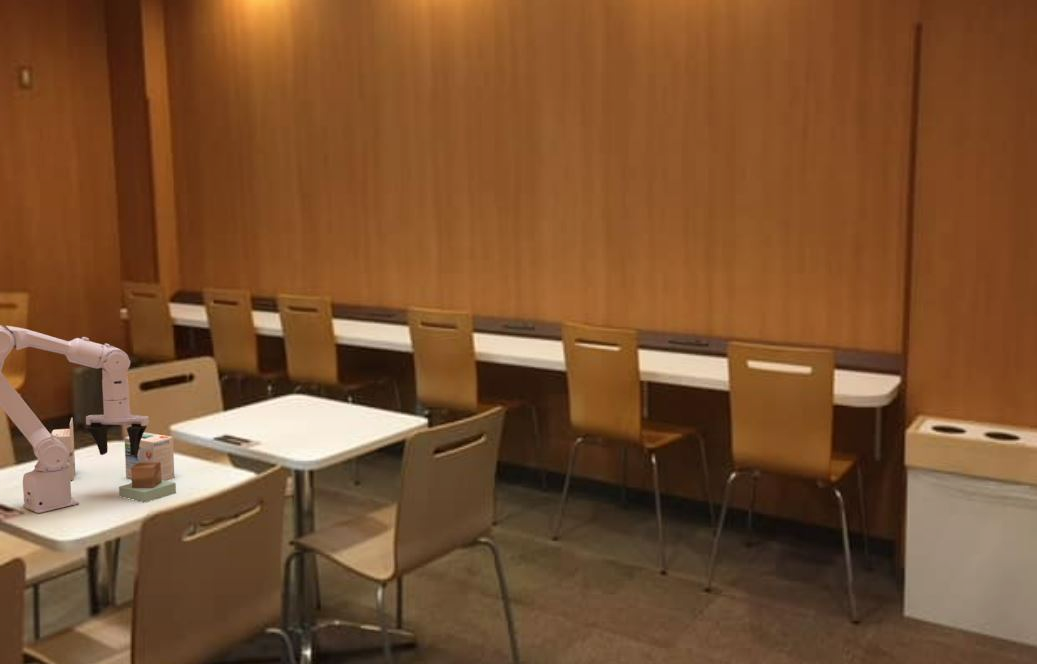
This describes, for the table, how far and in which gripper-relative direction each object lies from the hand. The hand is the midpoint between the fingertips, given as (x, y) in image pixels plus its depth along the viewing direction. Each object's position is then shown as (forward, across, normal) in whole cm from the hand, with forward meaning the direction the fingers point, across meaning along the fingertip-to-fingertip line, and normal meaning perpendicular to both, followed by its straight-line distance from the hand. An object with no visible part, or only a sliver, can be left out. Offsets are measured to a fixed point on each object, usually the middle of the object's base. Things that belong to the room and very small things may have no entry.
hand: (119, 454), depth 226 cm
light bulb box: (+10, 0, -14) cm, 18 cm away
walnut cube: (+7, -6, 0) cm, 10 cm away
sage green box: (+10, -6, 0) cm, 12 cm away
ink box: (+10, +22, -13) cm, 27 cm away
